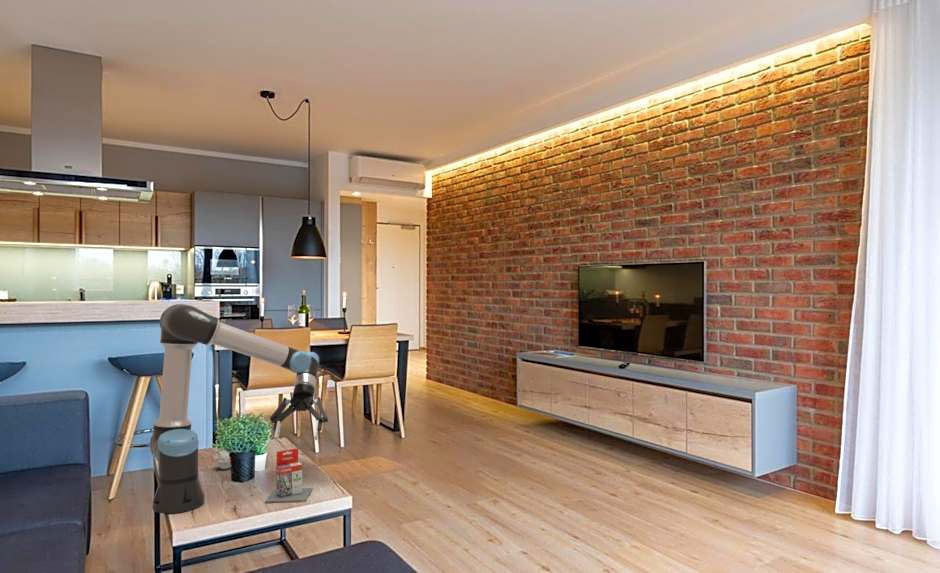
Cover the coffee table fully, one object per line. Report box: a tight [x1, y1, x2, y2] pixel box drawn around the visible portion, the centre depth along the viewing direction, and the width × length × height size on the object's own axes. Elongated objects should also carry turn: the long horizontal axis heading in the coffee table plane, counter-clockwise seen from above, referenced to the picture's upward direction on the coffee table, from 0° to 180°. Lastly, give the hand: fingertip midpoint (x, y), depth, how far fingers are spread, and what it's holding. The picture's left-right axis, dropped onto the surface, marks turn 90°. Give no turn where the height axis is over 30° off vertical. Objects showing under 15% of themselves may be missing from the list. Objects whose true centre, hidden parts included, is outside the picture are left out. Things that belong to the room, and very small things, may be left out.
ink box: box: [275, 448, 304, 498], centre depth 204 cm, size 4×8×15 cm, turn 126°
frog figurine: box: [214, 450, 231, 470], centre depth 234 cm, size 6×7×7 cm
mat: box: [264, 487, 314, 504], centre depth 203 cm, size 13×12×1 cm
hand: (295, 438), depth 212 cm, fingers open, 13 cm apart
